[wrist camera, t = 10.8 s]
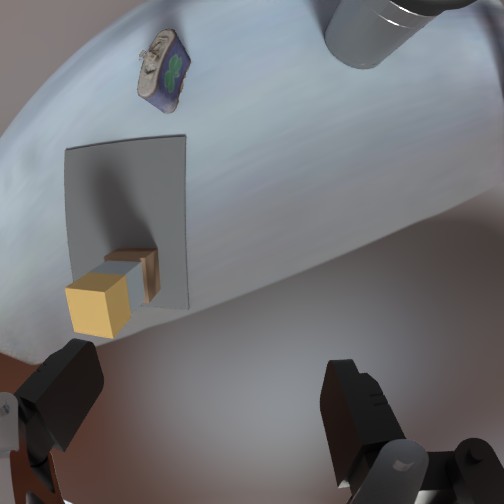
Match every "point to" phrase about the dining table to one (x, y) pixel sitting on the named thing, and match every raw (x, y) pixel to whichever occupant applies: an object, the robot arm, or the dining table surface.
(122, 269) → the tower mid
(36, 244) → the dining table surface
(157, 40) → the flask
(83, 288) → the ochre block
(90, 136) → the dining table surface
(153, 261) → the tower base
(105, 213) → the slate mat
